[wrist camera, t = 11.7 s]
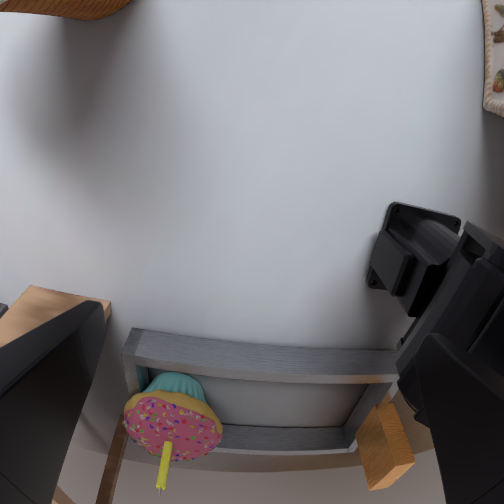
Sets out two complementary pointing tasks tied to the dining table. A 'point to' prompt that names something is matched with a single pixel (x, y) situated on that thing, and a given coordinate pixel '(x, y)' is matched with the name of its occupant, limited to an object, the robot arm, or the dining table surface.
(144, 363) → the grey shallow tray
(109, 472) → the small wooden table
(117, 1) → the disposable coffee cup
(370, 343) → the dining table surface
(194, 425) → the cupcake
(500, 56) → the decorative jar
